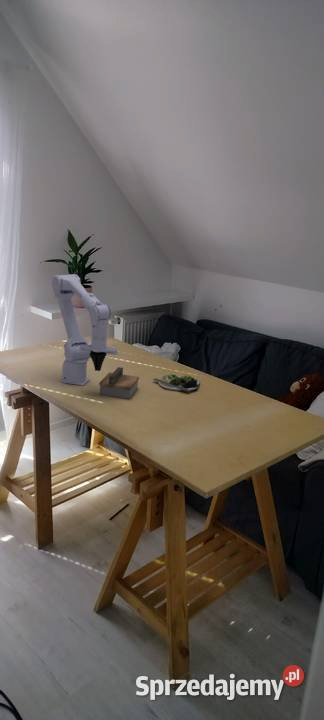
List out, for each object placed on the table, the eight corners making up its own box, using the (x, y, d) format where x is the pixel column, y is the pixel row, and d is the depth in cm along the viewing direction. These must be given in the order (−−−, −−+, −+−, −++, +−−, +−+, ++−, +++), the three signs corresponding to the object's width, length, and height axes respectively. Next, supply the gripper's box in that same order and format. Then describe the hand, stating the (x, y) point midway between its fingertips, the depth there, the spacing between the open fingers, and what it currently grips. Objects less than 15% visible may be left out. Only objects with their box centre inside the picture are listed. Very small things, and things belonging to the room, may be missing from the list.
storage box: (99, 394, 199) (100, 385, 198) (109, 384, 210) (109, 375, 209) (129, 399, 197) (130, 390, 196) (137, 388, 208) (138, 379, 207)
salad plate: (148, 389, 209) (149, 379, 207) (157, 375, 225) (158, 365, 224) (195, 396, 206) (196, 385, 204) (201, 381, 222) (202, 371, 221)
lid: (99, 385, 197) (99, 375, 196) (109, 374, 209) (109, 365, 208) (130, 390, 195) (131, 380, 194) (138, 379, 207) (139, 369, 206)
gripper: (77, 336, 191) (76, 370, 195) (114, 341, 188) (112, 376, 193) (83, 331, 198) (82, 365, 202) (119, 336, 195) (118, 370, 199)
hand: (97, 370), depth 198 cm, fingers closed
